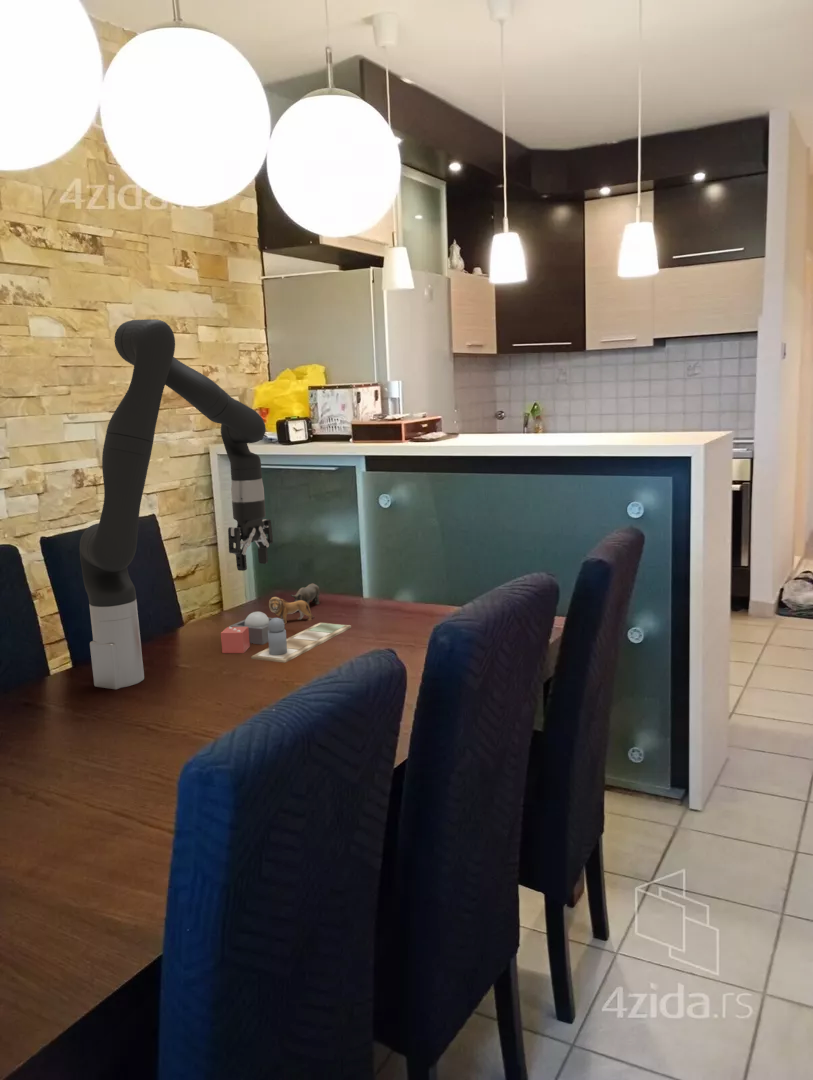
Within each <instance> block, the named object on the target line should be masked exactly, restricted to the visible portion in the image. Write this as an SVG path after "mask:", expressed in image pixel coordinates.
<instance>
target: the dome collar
mask: <svg viewBox="0 0 813 1080" xmlns="http://www.w3.org/2000/svg"><path fill="white" fill-rule="evenodd" d="M268 618H269V621H270V620H271V619H273V618H274V617H268ZM245 620H246V618H245V619H243V620H240V621H238V622H236V623H233V624H231V625H229V627H248V628H249V641H250V644H252V643H253V645H265V644H267V643H268V631H269V628H268V625H265V626H263V627H261V628H260V627H250V626H245ZM282 620H283V622H284V619H282ZM284 629H285V626H284ZM285 630H286V629H285Z"/></svg>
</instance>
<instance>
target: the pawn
mask: <svg viewBox="0 0 813 1080" xmlns="http://www.w3.org/2000/svg"><path fill="white" fill-rule="evenodd" d="M272 618H273V619H271V620H270V622H269V624H268V628H269V631H268V642H267V643H268V648H269V654H270V655H283V654H286V653H287V641H286V639H287V630H286V629H284V627H285V624H284V622H283V620H282V619H280V617H272Z"/></svg>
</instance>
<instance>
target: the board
mask: <svg viewBox="0 0 813 1080" xmlns="http://www.w3.org/2000/svg"><path fill="white" fill-rule="evenodd" d="M350 629H352V625H350V624H340V623H331V622H330V623H329V622H318V623H316V624H313V625H312V626H310V627H308V628H306V629H304V630H302V631H300V632H297V633H296V634H294V635H292V636H289V637H288V638H287V637H286V641H287V653H286V654H283V655H270V654H269V647H267V648H265V649H264V650H260V651H258V652H257V653H255V654H253V655H252V656H250V658H251V659H252V660H260V661H267V662H275V663H284V664H285V663H288V662H290V661H291V660H293V659H295V658H296V657H299V656H301V655H303V654H304V653H306V652H308V651H310V650H312V649H314V648H316V647H317V646H319V645H321V644H323V643H325V642H327V641H329V640H330V639H332V638H334V637H336V636H338V635H341V634H342V633H344V632H346V631H348V630H350Z"/></svg>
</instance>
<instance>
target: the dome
mask: <svg viewBox="0 0 813 1080" xmlns="http://www.w3.org/2000/svg"><path fill="white" fill-rule="evenodd" d="M269 618H270V617H268V615H267V614H266V613H264V612H262V611H252V612H251V613H249V614H248V615H247V616H246V618H245V619H246V620H245V619H244V620H245V626H250V627H260V628H261V627H263V626H265V625H268V624H269V622H270V621H269Z"/></svg>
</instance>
